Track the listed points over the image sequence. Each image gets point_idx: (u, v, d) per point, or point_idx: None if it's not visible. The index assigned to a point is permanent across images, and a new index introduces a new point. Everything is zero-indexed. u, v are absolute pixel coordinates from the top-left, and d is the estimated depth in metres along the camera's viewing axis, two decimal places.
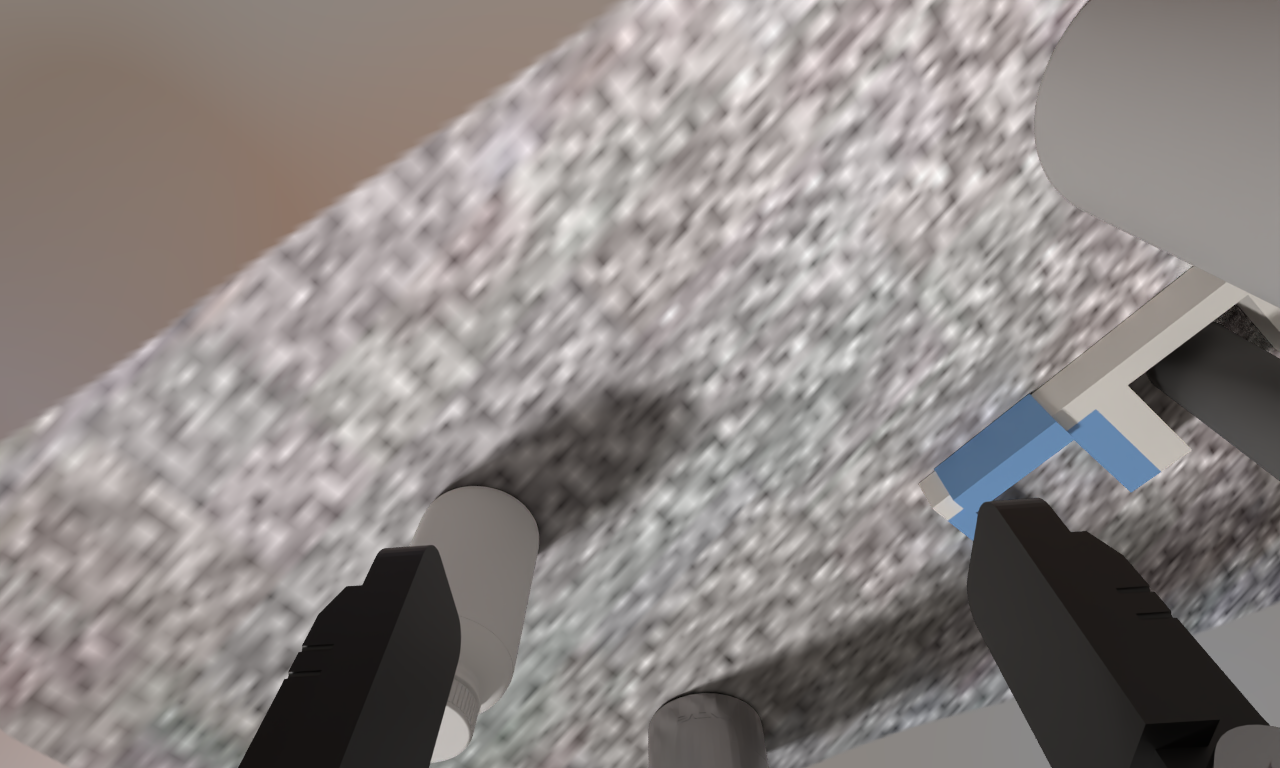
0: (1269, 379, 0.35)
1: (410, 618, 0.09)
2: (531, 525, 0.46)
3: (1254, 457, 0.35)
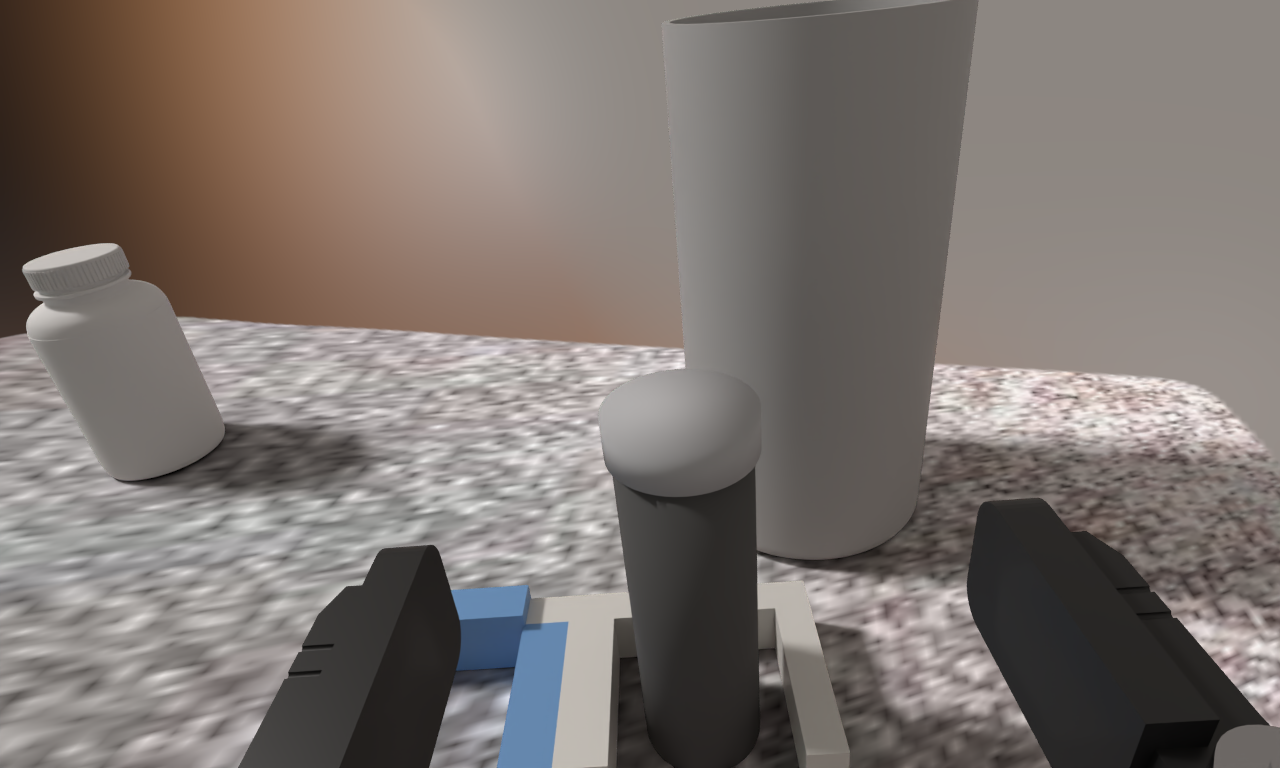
0: None
1: (410, 618, 0.09)
2: (194, 445, 0.50)
3: None
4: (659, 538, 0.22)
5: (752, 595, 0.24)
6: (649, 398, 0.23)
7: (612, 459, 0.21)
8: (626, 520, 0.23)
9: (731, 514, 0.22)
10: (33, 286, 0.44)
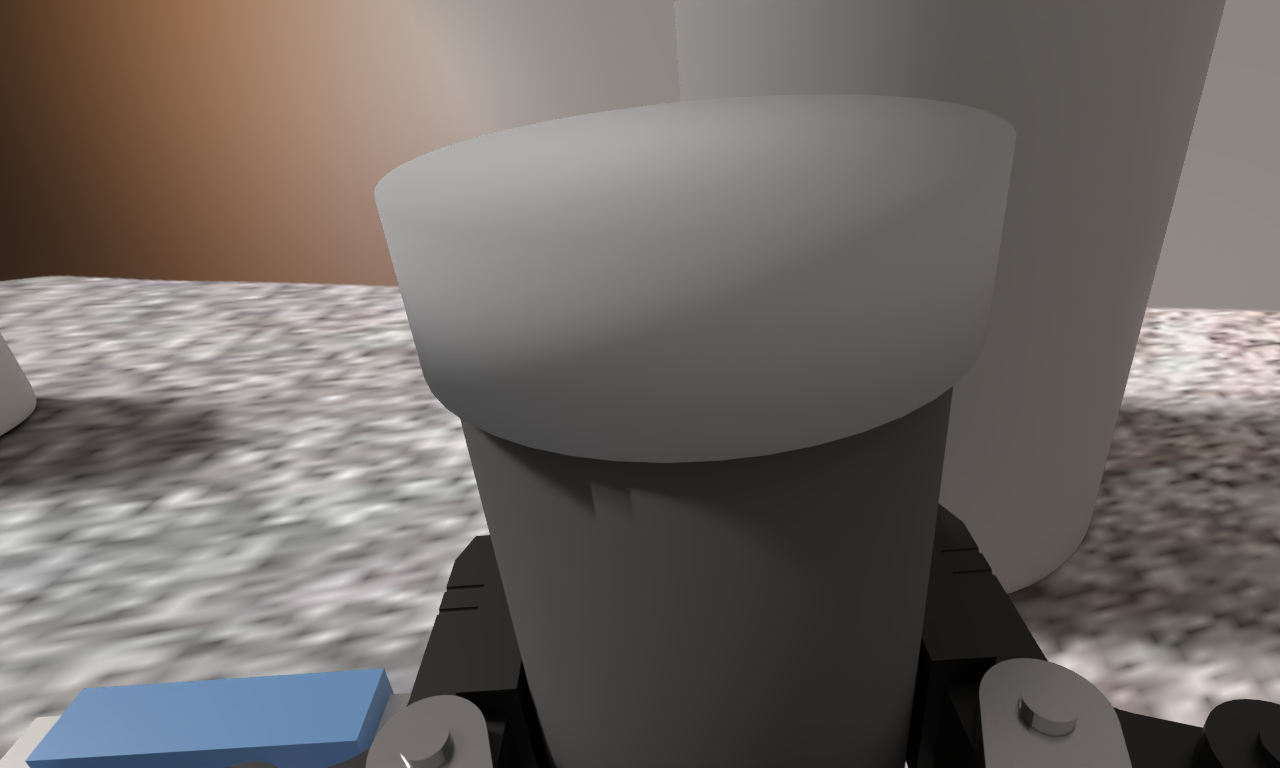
0: None
1: None
2: None
3: None
4: (610, 628, 0.06)
5: None
6: (581, 138, 0.07)
7: (414, 316, 0.05)
8: (503, 558, 0.06)
9: (888, 537, 0.06)
10: None
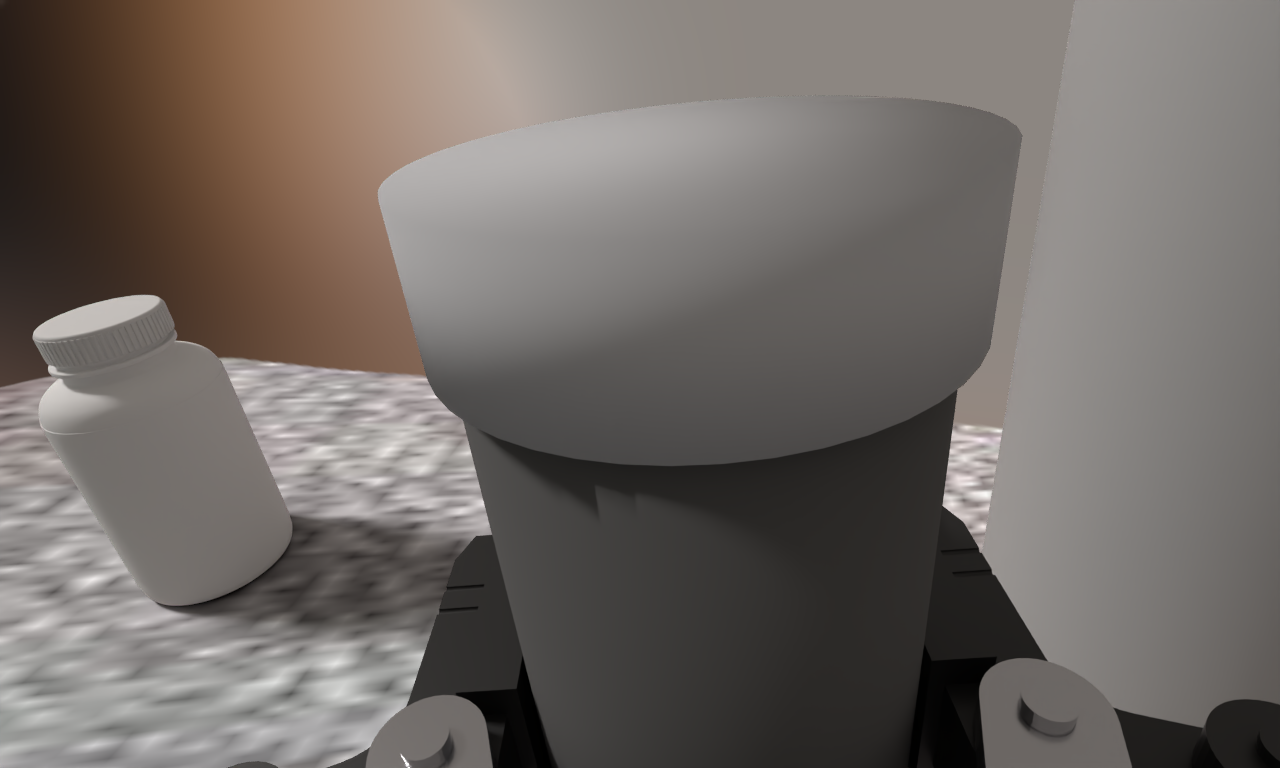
0: None
1: None
2: (256, 557, 0.38)
3: None
4: (613, 631, 0.06)
5: None
6: (585, 139, 0.07)
7: (418, 317, 0.05)
8: (506, 560, 0.06)
9: (892, 540, 0.06)
10: (47, 359, 0.32)
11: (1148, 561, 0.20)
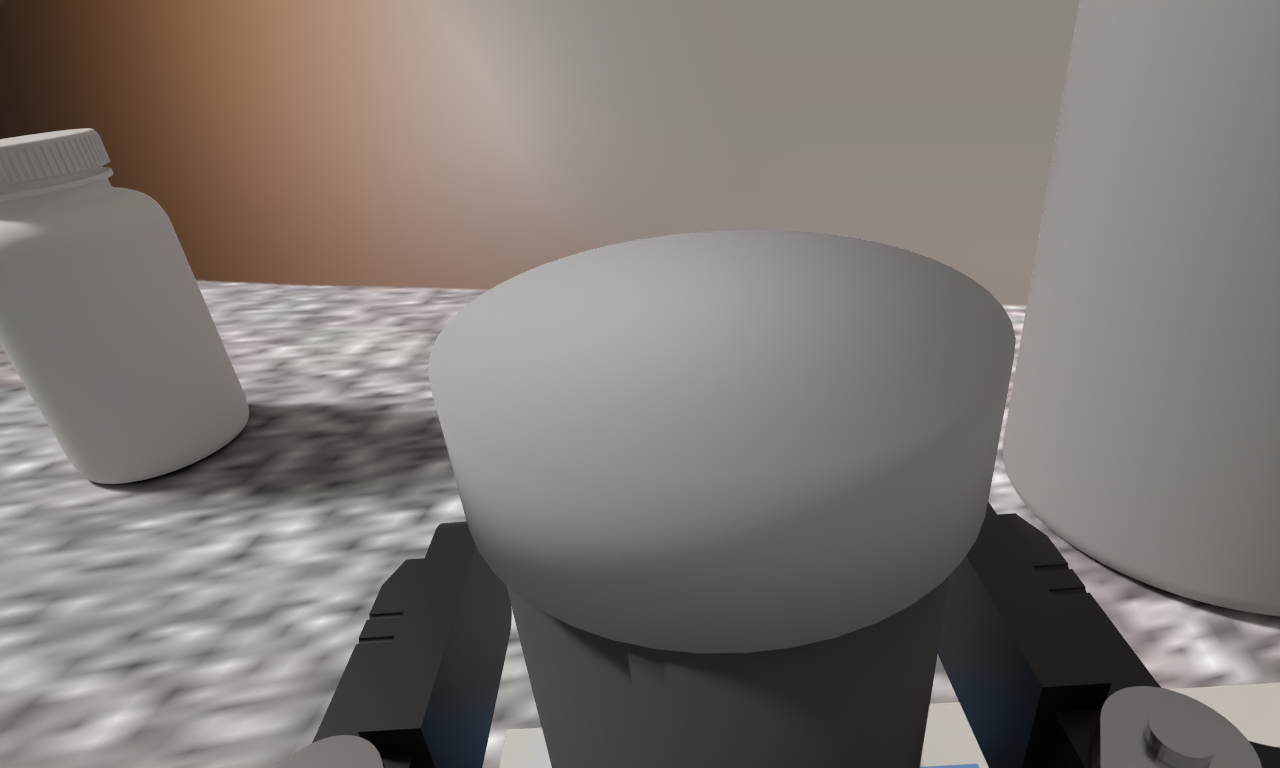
0: None
1: (472, 587, 0.10)
2: (206, 431, 0.34)
3: None
4: (641, 766, 0.06)
5: None
6: (612, 294, 0.07)
7: (466, 494, 0.06)
8: (539, 685, 0.07)
9: (895, 687, 0.06)
10: None
11: (1235, 285, 0.17)
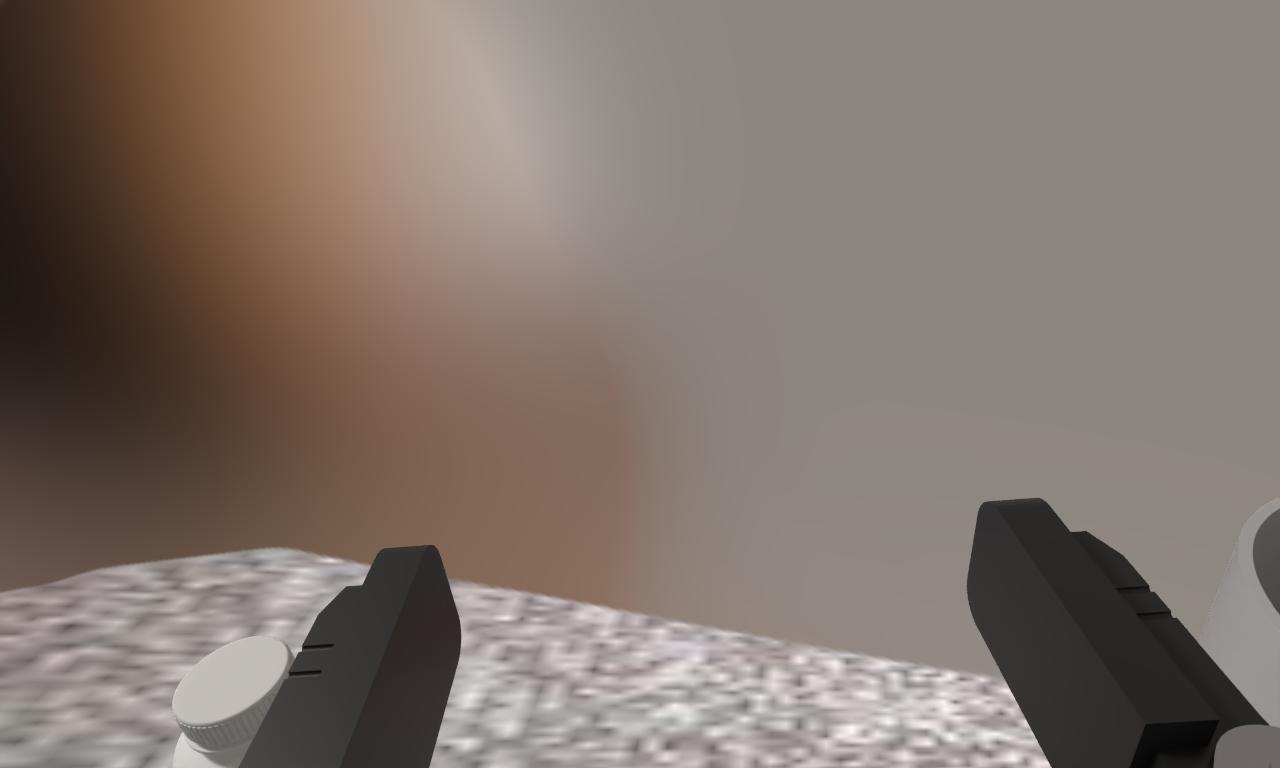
0: None
1: (410, 618, 0.09)
2: None
3: None
4: None
5: None
6: None
7: None
8: None
9: None
10: (187, 736, 0.33)
11: None
